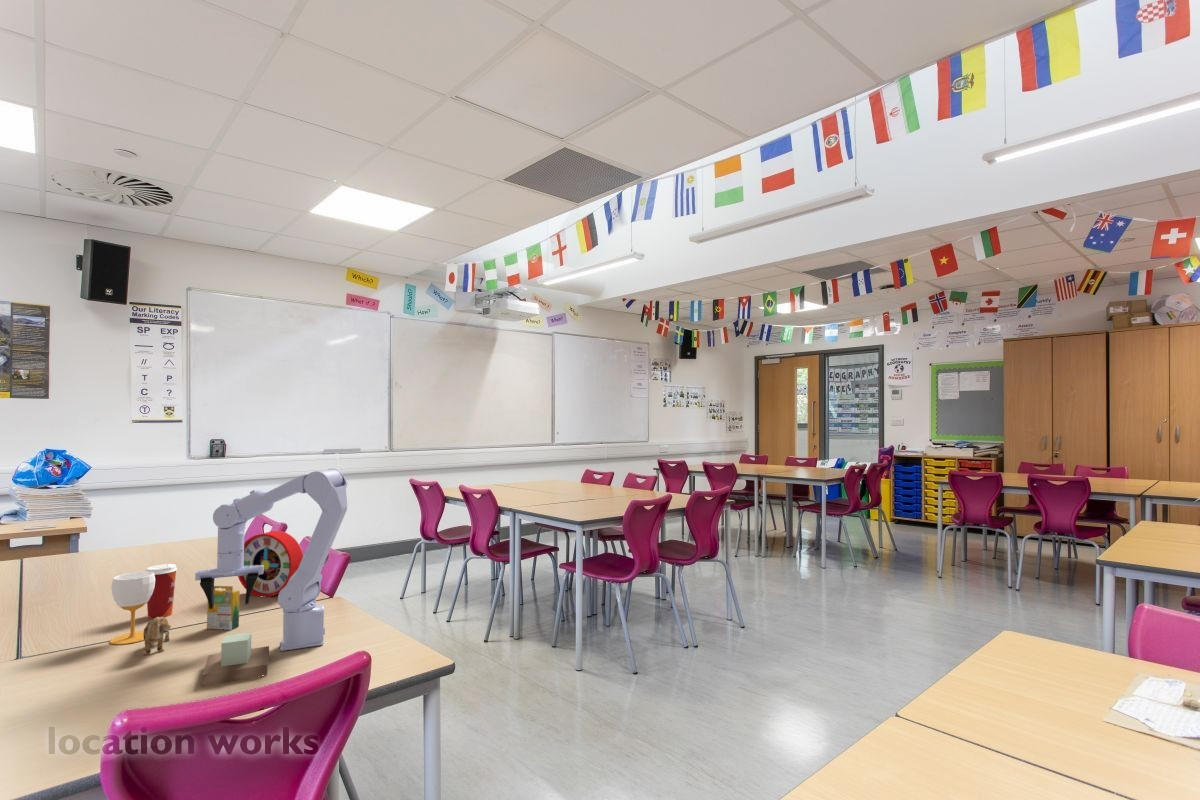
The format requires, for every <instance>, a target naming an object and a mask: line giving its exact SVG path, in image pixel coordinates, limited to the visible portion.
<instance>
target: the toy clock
mask: <svg viewBox="0 0 1200 800" xmlns="http://www.w3.org/2000/svg"><path fill="white" fill-rule="evenodd" d="M303 556H304V553H303V550H302V546H301V545H300V544H299V542H298V541H297V539H296V538H295V537H294V536H292V535H291V534H290V533H288V532H285V531H281V530H272V531H267V532H264V533H260V534H256V535H253V536H251V537H249V538H248V539H246V540H245V541H244V566H256V565H264V572H263V574H259V575H258V578H257V580H256V582H255V584H254V586H253V589H252V592H251V595H253V596H255V597H259V596H263V597H262V598H269V597H272V596H275V595H279V592H280V591H281V590H282V589H283V588H284V587H285V586H286V585H287V583H288V581H289V579H290V578H291V577H292V576H293V574H294V573H295V572H296V571H297V570H298V568H299V565H300V563H301V561H302V558H303ZM246 577H247V575H242V576H237V578H238V580H239V582H240V583H241V585H242V586H243V588H244V589H245V590H246ZM264 596H265V597H264ZM267 596H268V597H267Z"/></svg>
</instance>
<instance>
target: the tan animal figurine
mask: <svg viewBox="0 0 1200 800" xmlns="http://www.w3.org/2000/svg"><path fill="white" fill-rule="evenodd" d="M171 627H172V625H171V624H169V621H168V619H167V617H156V618H153V619H150V620H149V621H148V623H147V624H146V626H145V627H144V629H143V631H144V633H143V635H144V648H145V652H144V653H143V655H144V656H149V655H151V652H152V651H151V647H154V645H155V643H157V648H156V652H157V653H162V652H165V649H164V648H163V643H164V642H169V641H170V640H171V639H170V629H171ZM164 635H165V636H164Z"/></svg>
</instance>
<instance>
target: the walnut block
mask: <svg viewBox="0 0 1200 800" xmlns="http://www.w3.org/2000/svg"><path fill="white" fill-rule="evenodd" d="M269 659H270V646H269V645H268V646H267V645H266V646H263V647H262V646H261V647H254V648H251V656H250V658H249V660H248V663H243V664H236V665H228V666H221V652H220V653H216V654H209V655H208V657H207V660H206V663H205V664H204V665H205V666H204V667H203V668H204V669H203V671H202V673H201V688H203V687H204V688H205V687H210V686H217V685H221V684H222V685H223V684H227V683H232V682H239V681H244V680H250V678H251V679H254V678H253V677H256V678H259V677H258V676H262V675H267V676H268V670H267V669H269ZM262 677H263V676H262Z"/></svg>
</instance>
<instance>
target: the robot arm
mask: <svg viewBox="0 0 1200 800" xmlns="http://www.w3.org/2000/svg"><path fill="white" fill-rule="evenodd" d="M348 483H349V482H348V481H347V478H346V477H345V475H344V474H343V473H342V471H341V470H339V469H337V468H328V469H326V470H315V471H311V472H310V473H306V474H303V475H302V474H301V475H299V476H297V477H295V478H293V479H291V480H288V481H286V482H284V483H283V484H280V485H279V486H277V487H274V488H272V489H271V490H269V491H267V490H264V489H259V490H258V489H252V490H251V491H250V492H249V494H248V495H246V496H244V497H241V498H239V497H236V498H235V499H233V502H232V503H227V504H220V506H218V507H217V508H215V510H214V511H213V514H212V521H213V523H214V525H215V526H216V527H217V548H216V549H217V552H216V553H217V556H216V557H217V560H216V562H217V563H216V564H217V565H216V568H212V569H211V568H210V569H204V570H197V571H196V572H195V574H194V575H195V577H194V580H195V581H200V582H199V586H200V587H201V589H202V591H203V592H204V595H205V598H206V599H207V605H208V604H209V609H213V607H214V586H215V579H218V578H219V579H221V578H229V577H230V578H231V577H238V576H242V575H247V577H246V589H245V591H246V592H245V600H244V601H245V604H244V605H249V604H250V599H251V595H252V593H251V592H252V589H253V586H254V584H255V582H256V580H257V578H258V575H259V574H263V572H264V565H256V566H244V543H245V529H246V524H247V522H248V521H249V520H252V519H254V518H256V517H258V516H259V515H263V514H265V513H267V512H270V510H272V509H273V507H274V504H275V503H277V502H279V501H282V500H284V499H286V498H288V497H291V496H293V495H296V494H299V493H300V494H307V495H308V496H309V497H310V498H311V499H312V500H313V501H314V502H315V503H317V505H319V507H320V510H321V514H320V516H319V519H318V521H317V524H316V526H315V528H314V531H313V533H312V534H311V537H310V540H309V542H308V545H307V547H306V549H305V552H304V553H303V558H302V561H301V563H300V565H299V568H298V570H297V571H296V572H295V573H294V574H293V576H292V577H291V578H290V579H289V581H288V583H287V585H286V586H285V587H284V588H283V589H282V590H281V591H280V592H279V593H278V594H277V595H278V596H277V603H278V605H279V606H280V608H281V609H282V612H283V615H282V616H283V617H282V618H283V619H282V639H281V642H280V646H279V647H280V648H279V651H281V652H283V651H288V650H289V651H291V650H296V649H303V648H309V647H316V646H317V647H318V646H322V645H324V636H325V635H326V627H325V626H324V625H325V624H324V622H325V621H324V620H325V616H324V615H325V614H324V613H325V611H324V610H325V605H324V604H320V605H317V604H316V601H317V600H316V599H317V598H318V597H319V595H320V593H321V590H322V589H321V583H322V579H323V575H322V573H321V571H322V569H323V567H324V564H325V563H326V560H327V557H328V555H329V553H330V550H331V548H332V546H333V543H334V542H335V540H336V537H337V535H338V532H339V529H340V527H341V525H342V522H343V520H344V518H345V515H346V513H347V511H348V510H347V509H348V500H347V499H348V497H347V486H348Z"/></svg>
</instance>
